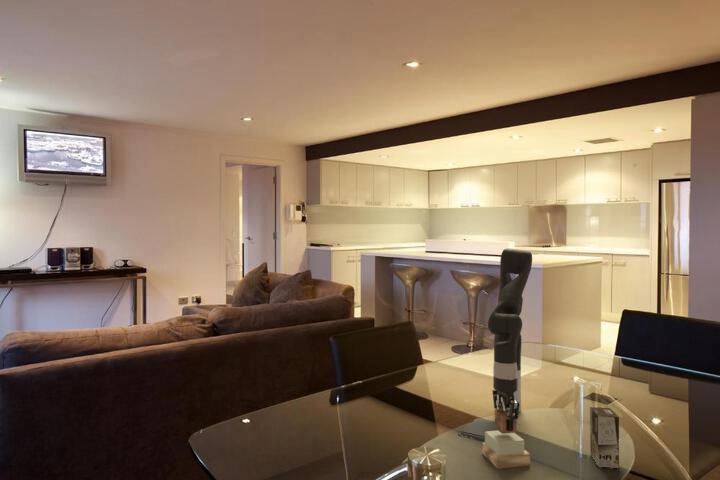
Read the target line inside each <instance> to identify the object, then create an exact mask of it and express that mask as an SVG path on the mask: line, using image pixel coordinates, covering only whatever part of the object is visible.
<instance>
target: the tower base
mask: <svg viewBox="0 0 720 480" xmlns="http://www.w3.org/2000/svg"><path fill="white" fill-rule="evenodd" d="M481 454H483V457H485V458H486V459H487V460H488V461H489V462H491V464H492V465H494V466H495V467H496V469H498V470H499V469H505V468H508V469H509V468H515V467H516V468H517V467H519V468H520V467H526V466H527V467H528V466H531V454H530V452H529V451H528V450H526V449H524V453H518V454H509V455H500V456H498V455H497V454H496V453H495V452H494V451H493V450H492V449H490V448H489V447H488V446H487V445H486V444H485V442H483V441H481Z"/></svg>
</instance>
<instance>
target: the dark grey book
mask: <svg viewBox="0 0 720 480" xmlns="http://www.w3.org/2000/svg"><path fill="white" fill-rule="evenodd" d="M475 418H476V419H475ZM475 418H474V419H473V420H474V421H473V420H472V421H473V422H472V421H471V422H472V423H471V422H470V423H471V424H470V423H468V424H469V425H468V424H467V425H468V426H467V425H466V426H467V427H466V426H465V427H466V428H465V427H464V428H462V430H463V431H462V432H461V433H460V434H461V435H463V436H467V437H472V438H474V439H473V440H475V439H476V440H475V441H480V442H485V432H487V431H497V429H496V428H495V420H489V419H485V418H479V417H475Z"/></svg>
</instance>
